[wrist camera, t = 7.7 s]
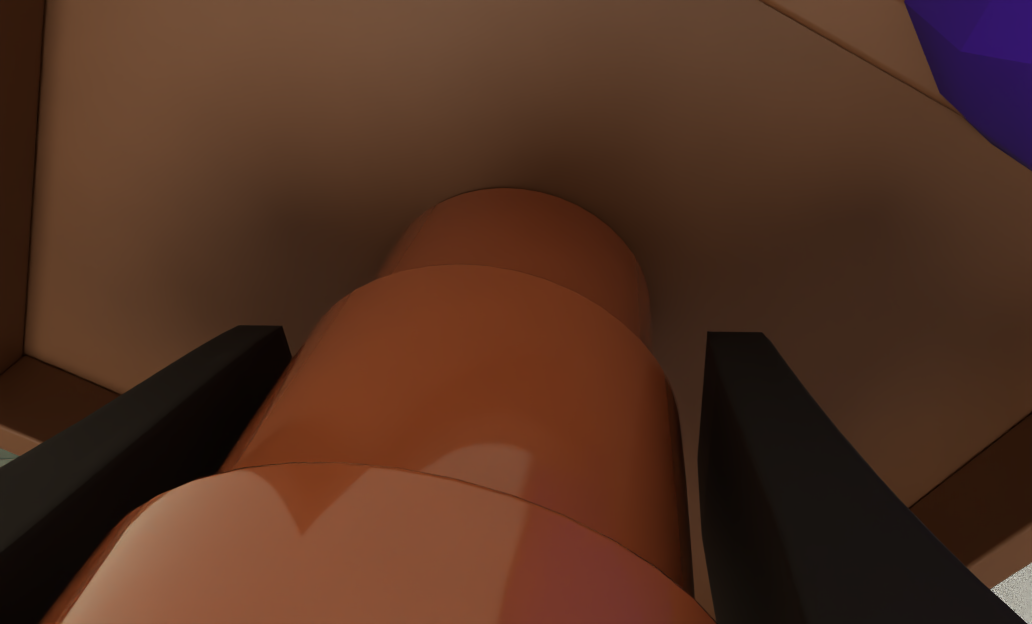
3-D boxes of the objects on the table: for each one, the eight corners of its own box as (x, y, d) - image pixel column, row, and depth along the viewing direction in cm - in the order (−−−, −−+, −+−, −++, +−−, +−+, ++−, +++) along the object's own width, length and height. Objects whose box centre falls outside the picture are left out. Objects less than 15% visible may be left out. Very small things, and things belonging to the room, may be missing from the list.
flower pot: (783, 250, 9) (1011, 905, 4) (587, 488, 12) (542, 1059, 7) (411, 58, 9) (-37, 488, 3) (298, 359, 12) (-37, 869, 6)
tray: (1286, 219, 9) (1434, 309, 7) (729, 652, 15) (741, 750, 14) (51, -507, 7) (-136, -617, 5) (10, 345, 13) (-79, 417, 12)
